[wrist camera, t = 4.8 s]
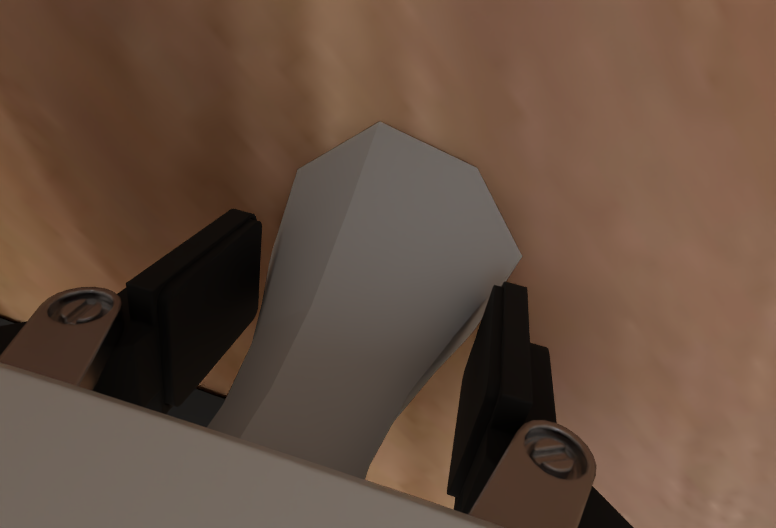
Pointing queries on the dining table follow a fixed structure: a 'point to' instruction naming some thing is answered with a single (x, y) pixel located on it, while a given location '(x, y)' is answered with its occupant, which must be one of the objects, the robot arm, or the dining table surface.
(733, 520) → the dining table surface
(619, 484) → the dining table surface
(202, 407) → the black-topped pedestal
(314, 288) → the flask
